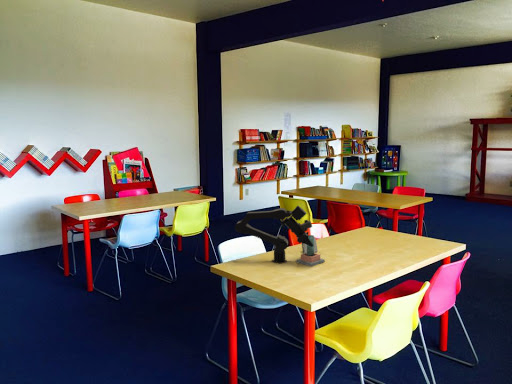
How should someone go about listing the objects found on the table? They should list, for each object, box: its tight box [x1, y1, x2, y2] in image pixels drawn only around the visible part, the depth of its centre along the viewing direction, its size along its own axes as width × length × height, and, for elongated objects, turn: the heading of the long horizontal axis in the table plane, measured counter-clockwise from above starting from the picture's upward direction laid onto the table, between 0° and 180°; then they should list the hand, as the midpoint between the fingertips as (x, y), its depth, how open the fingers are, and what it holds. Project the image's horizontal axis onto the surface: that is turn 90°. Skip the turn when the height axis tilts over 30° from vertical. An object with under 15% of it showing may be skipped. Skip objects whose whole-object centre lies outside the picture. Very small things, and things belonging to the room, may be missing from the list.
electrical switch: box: [301, 236, 318, 254], centre depth 274 cm, size 9×5×9 cm, turn 116°
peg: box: [307, 234, 315, 257], centre depth 252 cm, size 4×4×12 cm
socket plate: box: [295, 252, 325, 267], centre depth 253 cm, size 12×11×4 cm
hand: (312, 245), depth 252 cm, fingers closed on peg, 4 cm apart
